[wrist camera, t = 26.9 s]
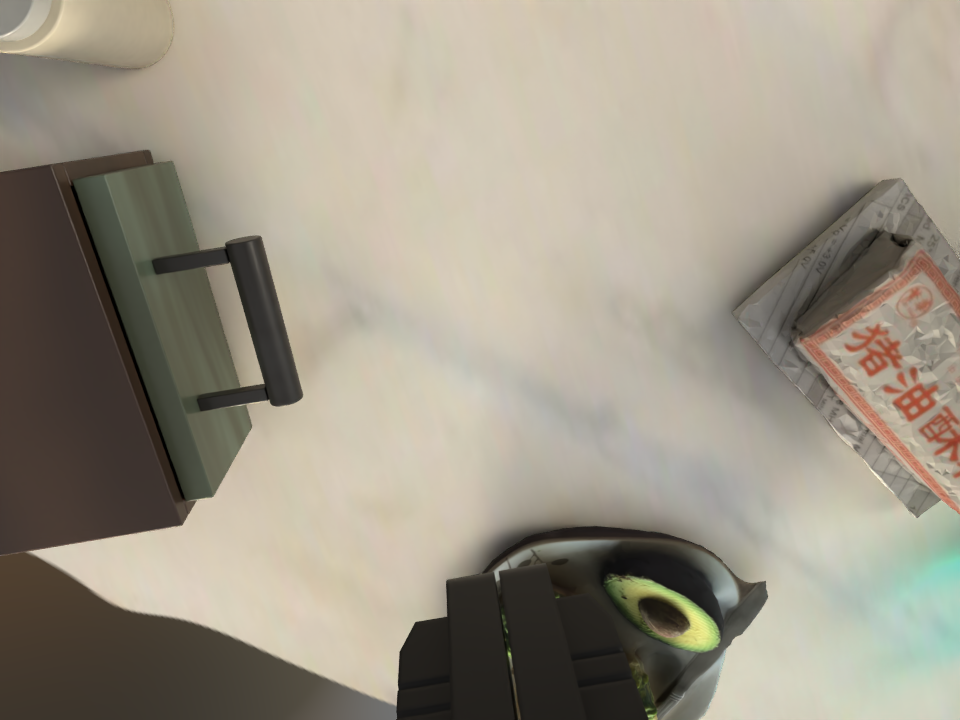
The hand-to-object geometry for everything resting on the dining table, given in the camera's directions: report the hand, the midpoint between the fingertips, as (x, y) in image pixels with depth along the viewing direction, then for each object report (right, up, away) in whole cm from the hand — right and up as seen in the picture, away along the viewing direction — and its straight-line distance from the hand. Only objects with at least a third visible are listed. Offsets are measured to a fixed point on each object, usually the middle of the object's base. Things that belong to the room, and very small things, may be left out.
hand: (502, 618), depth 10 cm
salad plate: (+7, -13, +32) cm, 36 cm away
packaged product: (+22, +4, +27) cm, 35 cm away
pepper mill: (-15, +18, +19) cm, 30 cm away
